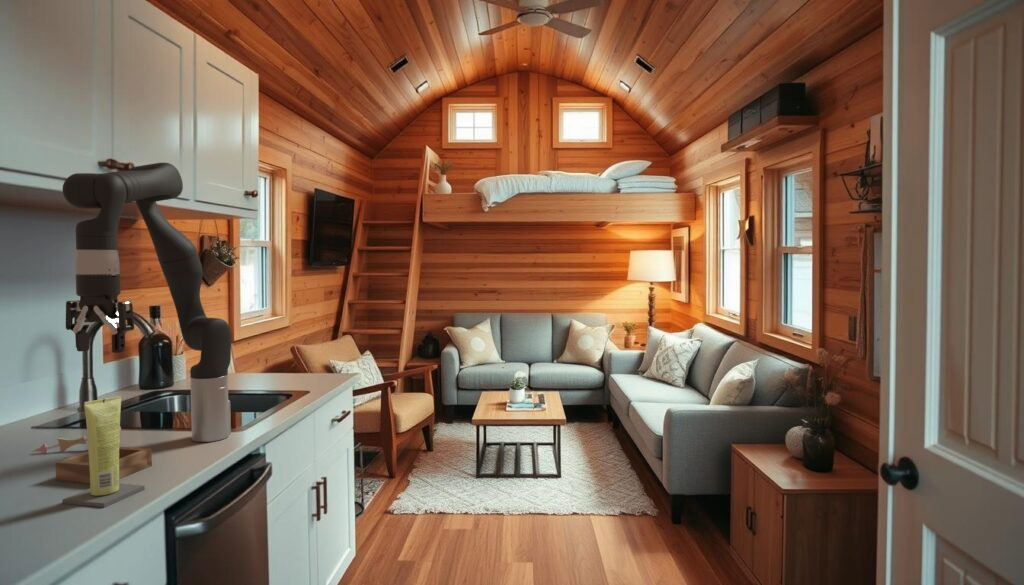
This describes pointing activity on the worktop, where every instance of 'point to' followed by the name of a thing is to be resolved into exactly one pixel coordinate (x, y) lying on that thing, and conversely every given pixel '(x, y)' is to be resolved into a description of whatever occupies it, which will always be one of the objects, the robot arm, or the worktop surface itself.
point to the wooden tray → (80, 471)
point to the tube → (103, 444)
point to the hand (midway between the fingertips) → (100, 351)
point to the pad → (103, 496)
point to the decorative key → (65, 444)
